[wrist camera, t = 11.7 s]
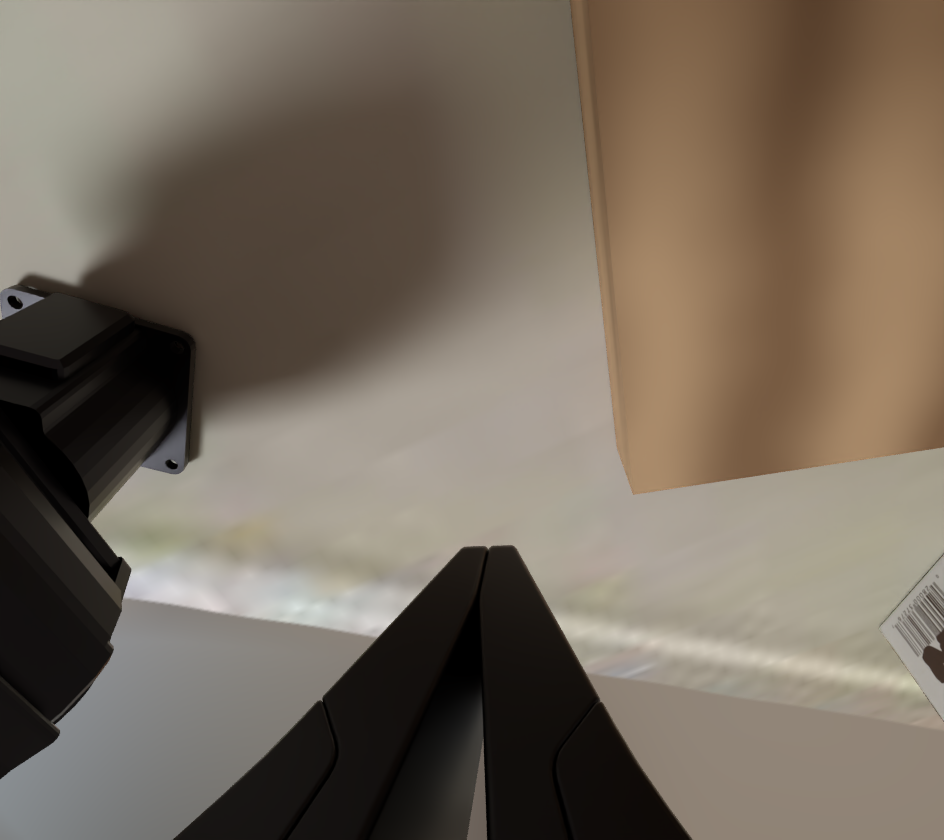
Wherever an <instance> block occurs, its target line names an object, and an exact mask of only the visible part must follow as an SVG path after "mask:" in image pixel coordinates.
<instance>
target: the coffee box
mask: <svg viewBox="0 0 944 840" xmlns="http://www.w3.org/2000/svg"><path fill="white" fill-rule="evenodd" d="M879 629H880V631H881V633H882V634H883V635H884V637H885V638H886V640H887V641H888V642H889V644H890V645H891V647H892V648H893V650H894V651H895V652H896V654H897V655H898V657H899V658H900V660H901V661H902V663H903V664H904V665H905V667H906V668H907V670H908V671H909V672H910V674H911V675H912V677H913V678H914V679H915V681H916V683H917V684H918V685H919V687H920V688H921V690H922V691H923V693H924V694H925V696H926V697H927V699H928V700H929V702H930V703H931V705H932V706H933V707H934V709H935V710H936V712H937V713H938V714H939V716H940V717H941V719H942V720H943V721H944V555H943V556H942V557H941V558H940V559H939V560H938V561H937V563H936V564H935V565H934V566H933V567H932V568H931V569H930V571H929V572H928V573H927V574H926V575H925V576H924V577H923V579H922V580H921V581H920V582H919V583H918V584H917V585H916V586H915V588H914V589H913V590H912V591H911V592H910V593H909V594H908V596H907V597H906V598H905V599H904V600H903V601H902V602H901V603H900V604H899V605H898V607H897V608H896V609H895V610H894V611H893V612H892V614H891V615H890V616H889V617H888V618H887V619H886V620H885V621H884V622H883V623H882V625H881V626H880V627H879Z"/></svg>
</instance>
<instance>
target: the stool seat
mask: <svg viewBox="0 0 944 840" xmlns="http://www.w3.org/2000/svg"><path fill="white" fill-rule="evenodd" d="M570 5H571V15H572V24H573V34H574V43H575V53H576V62H577V72H578V81H579V91H580V100H581V110H582V119H583V129H584V139H585V148H586V158H587V167H588V177H589V186H590V196H591V205H592V215H593V224H594V234H595V243H596V253H597V262H598V272H599V281H600V291H601V300H602V310H603V320H604V329H605V339H606V348H607V358H608V367H609V377H610V386H611V396H612V405H613V415H614V424H615V434H616V443H617V449H618V452H619V455H620V458H621V461H622V464H623V467H624V470H625V472H626V475H627V478H628V481H629V484H630V487H631V490H632V493H633V495H634V494H640V493H647V492H654V491H660V490H667V489H673V488H680V487H686V486H693V485H699V484H706V483H713V482H719V481H726V480H732V479H739V478H745V477H752V476H758V475H765V474H772V473H778V472H785V471H791V470H798V469H804V468H811V467H817V466H824V465H831V464H837V463H844V462H850V461H857V460H863V459H870V458H876V457H883V456H890V455H896V454H903V453H909V452H916V451H922V450H929V449H935V448H942V447H944V0H570Z"/></svg>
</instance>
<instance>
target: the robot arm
mask: <svg viewBox="0 0 944 840" xmlns="http://www.w3.org/2000/svg"><path fill="white" fill-rule="evenodd" d="M15 296H16V297H18V298H19V299H20V300H21V301H22V303H23V305H22V304H20V303H19V302H18V301H17V299H16V297H15ZM0 304H1V311H2V320H0V779H1V778H2V777H4V776H5V775H6V774H7V773H8V772H10V770H12V769H14V768H15V767H17V766H18V765H20V764H21V763H23V762H25V761H26V760H28V759H29V758H31V757H32V756H34V755H35V754H37V753H38V752H40V751H41V750H43V749H44V748H46V747H47V746H49V745H50V744H52V743H53V742H54V741H55V740H56V739H57V738H58V736H59V734H60V730H59V729H58V728H57V727H56V726H55V724H56V723H57V722H58V721H60V720H61V719H62V718H63V717H64V716H65V715H66V714H67V713H68V712H69V711H70V710H71V709H72V708H73V707H74V706H75V705H76V704H77V703H78V702H79V701H80V699H81V698H82V697H83V696H84V695H85V694H86V692H87V691H88V690H89V688H90V687H91V685H92V684H93V682H94V681H95V679H96V678H97V677H98V675H99V674H100V672H101V671H102V670H103V668H104V667H105V666H106V664H107V663H108V661H109V660H110V658H111V655H112V653H113V650H114V648H113V646H112V645H111V643H110V639H111V636H112V633H113V631H114V628H115V626H116V623H117V621H118V618H119V616H120V613H121V611H122V604H121V603H122V600H123V596H124V593H125V590H126V586H127V583H128V580H129V576H130V573H131V568H130V567H129V565H128V564H127V563H126V561H125V560H124V559H123V558H122V557H117V556H116V554H115V553H114V552H113V550H112V549H111V548H110V547H109V545H108V544H107V543H106V542H105V540H104V539H103V538H102V536H101V535H100V534H99V533H98V531H97V530H96V529H95V528H94V526H93V525H92V524H91V521H92V520H93V519H94V518H95V517H96V516H97V515H98V513H99V512H100V511H101V510H102V509H103V508H104V507H105V505H106V504H107V503H108V502H109V501H110V500H111V499H112V498H113V496H114V495H115V494H116V493H117V492H118V491H119V490H120V489H121V487H122V486H123V485H124V484H125V483H126V482H127V481H128V479H129V478H130V477H131V476H132V475H133V474H134V473H135V472H136V470H137V469H138V468H139V467H140V466H142V467H146V468H150V469H154V470H158V471H162V472H166V473H170V474H179V473H181V472H182V471H183V470H184V469H185V467H186V466H187V464H188V459H189V444H190V428H191V413H192V397H193V382H194V367H195V351H196V345H195V341H194V340H193V338H192V337H191V336H190V335H189V334H188V333H185V332H183V331H180V330H177V329H173V328H170V327H166V326H163V325H159V324H155V323H152V322H148V321H145V320H141V319H138V318H134V317H133V316H132V315H130V314H129V313H128V312H125V311H121V310H118V309H114V308H111V307H107V306H104V305H100V304H97V303H93V302H90V301H86V300H83V299H79V298H76V297H72V296H69V295H65V294H62V293H54V294H50V293H46V292H43V291H39V290H36V289H32V288H29V287H25V286H22V285H14V286H11V287H9V288H7V289H4V290H3V291H2V292H1V293H0ZM175 341H177V342H179V343H181V344H182V345H183V347H184V349H180V348H178V347H177V346H176V345H175ZM171 460H174V461H175V462H176V463H177V464H175V463H173V462H172V461H171ZM322 700H323V702H322V701H321V700H319V701H317V702H316V703H315V704H314V705H313V706H312V707H311V708H310V709H309V711H308V712H307V713H306V714H305V715H304V716H303V717H302V718H301V719H300V720H299V721H298V722H297V723H296V724H295V725H294V726H293V727H292V728H291V729H290V731H288V732H287V734H285V735H284V736H283V737H282V738H281V739H280V741H279V742H277V744H276V745H275V746H274V747H273V748H272V749H271V750H270V751H269V752H268V753H267V754H266V755H265V756H264V757H263V758H262V759H260V760H259V761H258V762H257V763H256V764H255V765H254V766H253V767H252V768H251V769H250V770H249V771H248V772H247V773H245V774H244V776H242V777H241V778H240V779H239V780H238V781H237V782H236V783H235V784H234V785H233V786H232V787H230V789H229V790H227V791H226V792H225V793H224V794H223V795H222V796H221V797H220V798H219V799H217V800H216V801H215V803H213V804H212V805H211V806H210V807H209V808H207V809H206V810H205V811H204V812H203V813H202V814H201V815H200V816H199V817H197V818H196V819H195V820H194V821H193V822H192V823H191V824H190V825H189V826H188V827H186V828H185V829H184V830H183V831H182V832H181V833H180V834H179V835H178V836H176V837H175V838H174V839H173V840H467V835H468V829H469V828H468V827H469V822H470V816H471V810H472V803H473V797H474V792H475V784H476V779H477V773H478V767H479V761H480V754H481V748H482V741H483V739H484V766H485V792H486V820H487V840H692V838H691V837H690V835H689V834H688V833H687V831H686V830H685V829H684V827H683V826H682V825H681V823H680V822H679V820H678V819H677V818H676V816H675V815H674V814H673V812H672V811H671V810H670V809H669V807H668V805H667V804H666V803H665V801H664V800H663V798H662V797H661V795H660V794H659V792H658V791H657V790H656V788H655V787H654V785H653V784H652V782H651V781H650V780H649V778H648V776H647V775H646V773H645V772H644V771H643V769H642V768H641V766H640V765H639V763H638V762H637V760H636V759H635V757H634V755H633V753H632V752H631V750H630V748H629V747H628V745H627V743H626V742H625V740H624V739H623V737H622V735H621V733H620V732H619V730H618V729H617V727H616V725H615V723H614V722H613V720H612V718H611V716H610V714H609V713H608V711H607V709H606V707H605V706H604V704H603V703H602V702H600V698H599V696H598V694H597V692H596V691H595V689H594V687H593V685H592V683H591V682H590V680H589V678H588V676H587V674H586V673H585V671H584V669H583V667H582V666H581V664H580V662H579V660H578V658H577V657H576V655H575V653H574V651H573V649H572V648H571V646H570V644H569V642H568V640H567V639H566V637H565V635H564V633H563V631H562V630H561V628H560V626H559V624H558V622H557V621H556V619H555V617H554V615H553V613H552V612H551V610H550V608H549V606H548V604H547V603H546V601H545V599H544V597H543V595H542V594H541V592H540V590H539V588H538V587H537V585H536V583H535V581H534V579H533V578H532V576H531V574H530V572H529V570H528V569H527V567H526V565H525V563H524V561H523V560H522V558H521V556H520V554H519V552H518V551H517V549H516V548H515V546H513V545H503V546H491V547H490V548H489V550H488V548H487V547H485V546H473V547H463V548H462V549H460V551H459V552H458V553H457V554H456V555H455V556H454V557H453V558H452V559H451V560H450V561H449V562H448V563H447V564H446V565H445V567H444V568H443V569H442V570H441V571H440V572H439V573H438V574H437V575H436V576H435V577H434V578H433V579H432V580H431V581H430V583H429V584H428V585H427V586H426V587H425V588H424V589H423V590H422V591H421V592H420V593H419V594H418V595H417V596H416V597H415V599H414V600H413V601H412V602H411V603H410V604H409V605H408V606H407V607H406V608H405V609H404V610H403V611H402V612H401V614H400V615H399V616H398V617H397V618H396V619H395V620H394V621H393V622H392V623H391V624H390V625H389V626H388V627H387V628H386V630H385V631H384V632H383V633H382V634H381V635H380V636H379V637H378V638H377V639H376V640H375V641H374V642H373V643H372V644H371V646H370V647H369V648H368V649H367V650H366V651H365V652H364V653H363V654H362V655H361V656H360V657H359V659H357V661H356V662H355V663H354V664H353V665H352V666H351V667H350V668H349V669H348V670H347V671H346V672H345V673H344V674H343V676H342V677H341V678H340V679H339V680H338V681H337V682H336V683H335V684H334V685H333V686H332V687H331V688H330V689H329V691H327V693H326V694H325V695H324V696H323V698H322Z"/></svg>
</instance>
